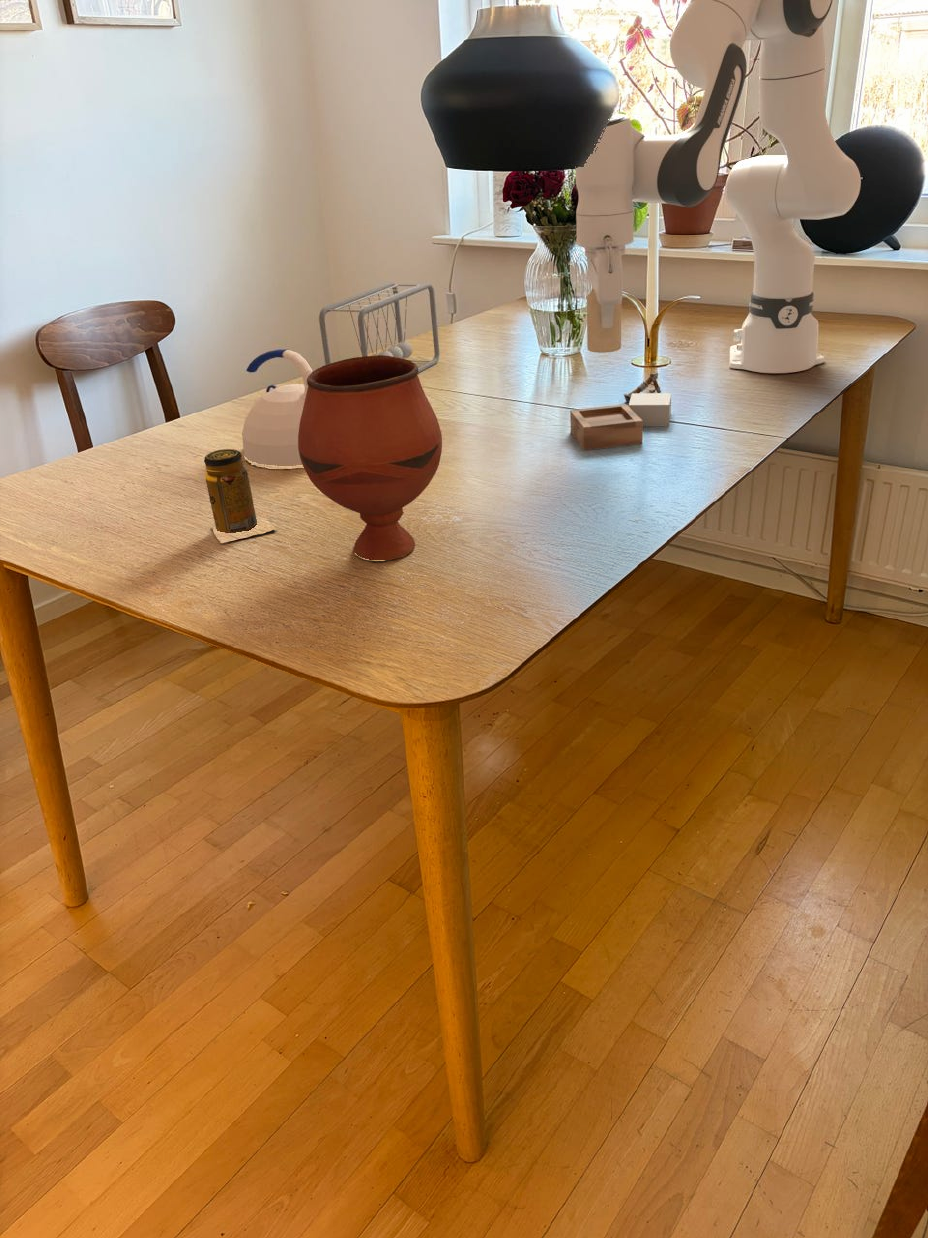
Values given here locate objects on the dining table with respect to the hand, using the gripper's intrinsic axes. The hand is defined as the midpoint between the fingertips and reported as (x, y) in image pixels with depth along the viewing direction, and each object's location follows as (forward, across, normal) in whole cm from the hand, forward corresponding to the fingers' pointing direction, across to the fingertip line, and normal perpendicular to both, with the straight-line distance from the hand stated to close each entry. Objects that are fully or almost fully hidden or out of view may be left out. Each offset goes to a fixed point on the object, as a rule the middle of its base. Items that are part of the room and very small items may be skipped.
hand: (605, 322), depth 160 cm
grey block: (+20, +9, -9) cm, 23 cm away
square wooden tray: (+20, 0, 0) cm, 20 cm away
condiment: (+20, -32, +56) cm, 68 cm away
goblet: (+20, -41, +34) cm, 57 cm away
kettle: (+20, +3, +54) cm, 58 cm away
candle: (+4, 0, 0) cm, 5 cm away
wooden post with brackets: (+20, +22, -9) cm, 31 cm away
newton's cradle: (+20, +48, +43) cm, 68 cm away
